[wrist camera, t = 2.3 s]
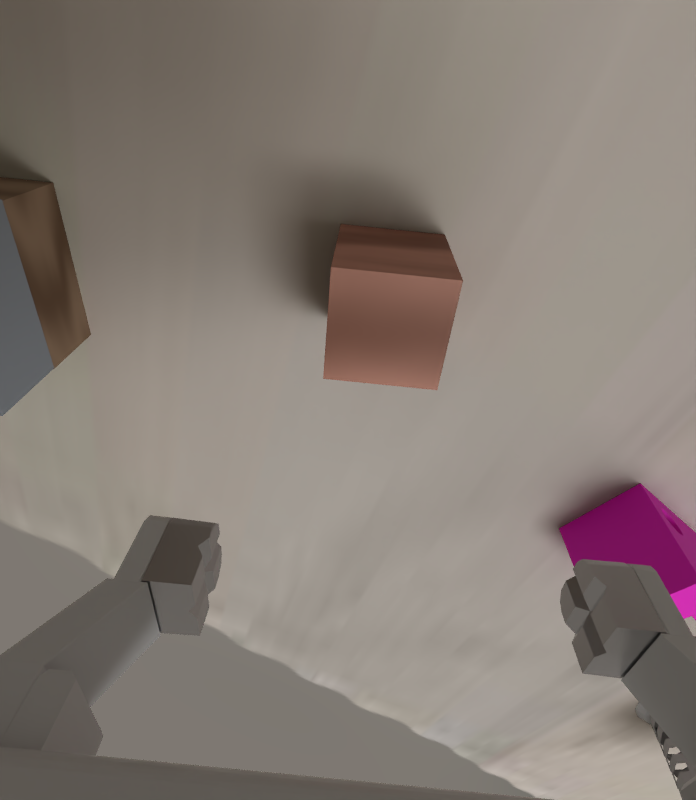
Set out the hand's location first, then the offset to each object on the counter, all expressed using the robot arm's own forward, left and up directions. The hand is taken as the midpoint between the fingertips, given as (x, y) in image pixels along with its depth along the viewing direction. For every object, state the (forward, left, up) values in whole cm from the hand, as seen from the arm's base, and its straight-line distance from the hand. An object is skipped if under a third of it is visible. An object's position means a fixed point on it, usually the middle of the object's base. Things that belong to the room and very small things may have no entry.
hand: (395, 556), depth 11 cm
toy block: (+19, +23, -17) cm, 34 cm away
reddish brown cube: (0, 0, -17) cm, 17 cm away
